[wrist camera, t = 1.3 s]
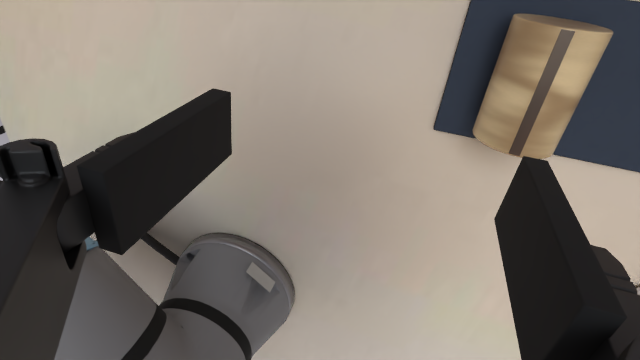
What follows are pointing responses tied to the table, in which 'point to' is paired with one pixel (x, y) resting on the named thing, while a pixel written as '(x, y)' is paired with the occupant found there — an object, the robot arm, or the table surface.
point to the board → (598, 98)
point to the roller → (538, 83)
